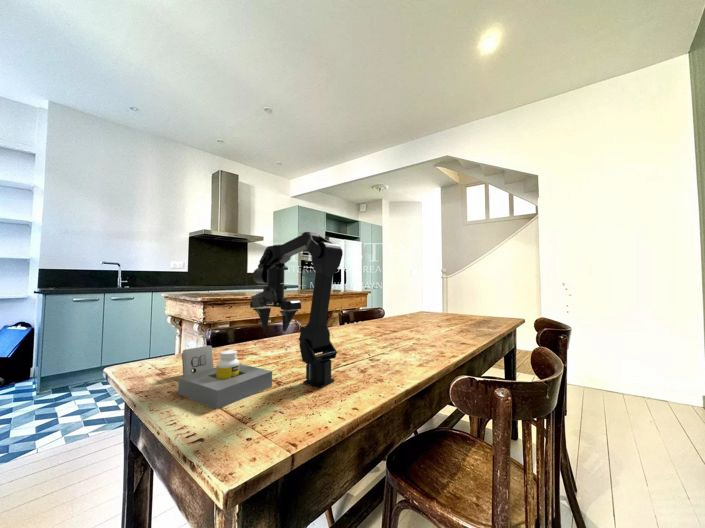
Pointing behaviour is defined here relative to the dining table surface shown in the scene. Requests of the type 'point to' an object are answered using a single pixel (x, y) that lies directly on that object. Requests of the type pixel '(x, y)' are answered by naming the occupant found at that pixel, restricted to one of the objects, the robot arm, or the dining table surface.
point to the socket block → (224, 386)
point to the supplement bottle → (227, 365)
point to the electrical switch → (197, 360)
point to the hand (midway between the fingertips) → (274, 330)
